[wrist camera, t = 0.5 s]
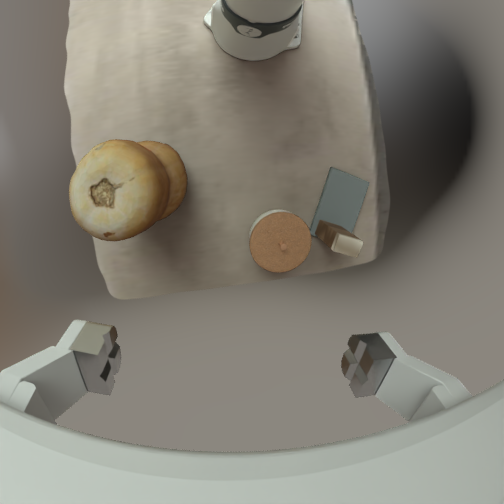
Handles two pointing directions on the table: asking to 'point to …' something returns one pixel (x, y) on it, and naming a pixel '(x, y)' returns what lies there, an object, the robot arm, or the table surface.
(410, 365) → the robot arm
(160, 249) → the table surface
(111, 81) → the table surface
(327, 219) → the slate mat
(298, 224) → the lidded jar
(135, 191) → the butternut squash
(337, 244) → the brown and white block
